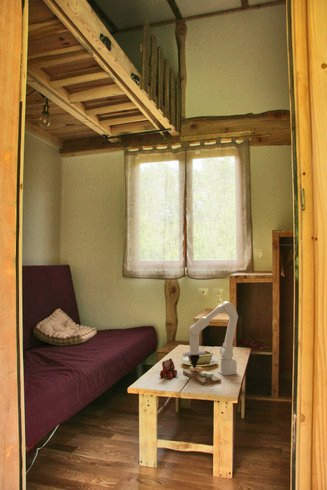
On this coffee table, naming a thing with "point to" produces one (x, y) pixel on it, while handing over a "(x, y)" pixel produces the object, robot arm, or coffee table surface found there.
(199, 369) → the terracotta key
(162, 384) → the coffee table surface
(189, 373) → the brown wooden board
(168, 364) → the dark red teddy bear
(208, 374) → the pale grey cube
